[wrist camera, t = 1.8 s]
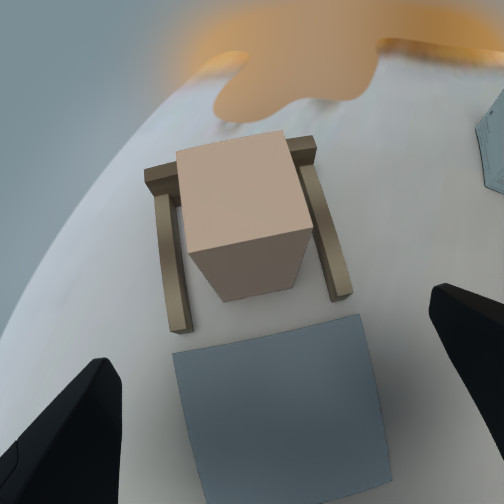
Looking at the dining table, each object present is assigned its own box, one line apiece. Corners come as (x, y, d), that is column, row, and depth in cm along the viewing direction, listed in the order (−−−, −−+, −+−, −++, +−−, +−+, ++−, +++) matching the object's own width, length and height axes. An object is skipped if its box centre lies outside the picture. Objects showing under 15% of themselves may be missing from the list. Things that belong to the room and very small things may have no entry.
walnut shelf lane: (345, 298, 20) (362, 284, 17) (178, 334, 20) (159, 327, 16) (306, 168, 24) (312, 135, 20) (161, 198, 23) (144, 169, 20)
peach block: (292, 287, 21) (313, 227, 11) (223, 302, 21) (187, 253, 11) (276, 224, 22) (282, 130, 13) (211, 238, 22) (175, 151, 13)
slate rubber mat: (389, 478, 16) (392, 480, 16) (213, 517, 16) (212, 520, 15) (357, 314, 20) (359, 313, 20) (174, 353, 20) (172, 353, 19)
